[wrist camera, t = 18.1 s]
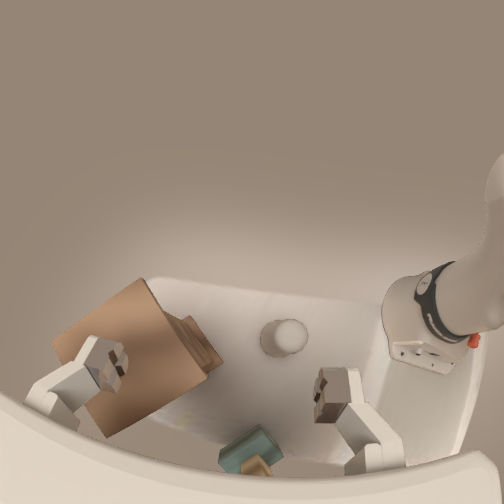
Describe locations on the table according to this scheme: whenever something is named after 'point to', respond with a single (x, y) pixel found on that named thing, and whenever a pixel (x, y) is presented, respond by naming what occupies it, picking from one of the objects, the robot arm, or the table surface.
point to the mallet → (251, 454)
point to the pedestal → (141, 355)
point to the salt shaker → (284, 337)
